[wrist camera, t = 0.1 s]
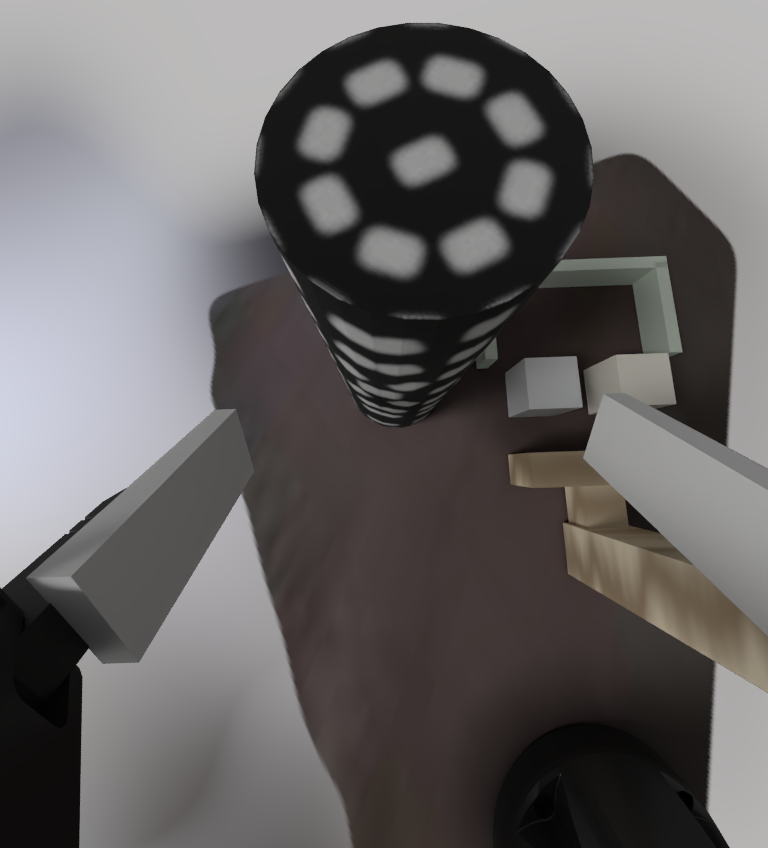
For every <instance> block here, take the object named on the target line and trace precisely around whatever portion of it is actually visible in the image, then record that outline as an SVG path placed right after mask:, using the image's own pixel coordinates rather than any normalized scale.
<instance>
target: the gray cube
mask: <svg viewBox="0 0 768 848" xmlns="http://www.w3.org/2000/svg"><path fill="white" fill-rule="evenodd" d="M505 380H506V391H507V402H508V413H509V417H534V416H555V415H559V414H562V413H566V412H569V411H572V410H576V409H579V408H583V405H582V396H581V388H580V380H579V372H578V364H577V356H568V357H541V358H524V359H523V360H521V361H520V362H519V363H517V364H516V365H515V366H514V367H512V368H511V369H510V370H508V371H507V372H506V373H505Z"/></svg>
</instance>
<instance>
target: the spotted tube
mask: <svg viewBox="0 0 768 848" xmlns="http://www.w3.org/2000/svg"><path fill="white" fill-rule="evenodd" d="M254 175H255V181H256V189H257V197H258V203H259V206H260V208H261V211H262V214H263V216H264V219H265V222H266V224H267V227H268V230H269V232H270V234H271V236H272V238H273V240H274V242H275V244H276V246H277V248H278V250H279V252H280V254H281V256H282V258H283V260H284V262H285V264H286V266H287V268H288V270H289V272H290V274H291V276H292V278H293V280H294V282H295V284H296V286H297V288H298V290H299V292H300V294H301V296H302V298H303V300H304V302H305V304H306V306H307V308H308V310H309V312H310V314H311V316H312V318H313V320H314V322H315V324H316V326H317V328H318V330H319V332H320V334H321V336H322V338H323V340H324V342H325V344H326V346H327V348H328V350H329V352H330V354H331V356H332V358H333V360H334V362H335V364H336V366H337V368H338V370H339V372H340V374H341V376H342V378H343V380H344V382H345V384H346V386H347V388H348V390H349V392H350V394H351V396H352V398H353V400H354V402H355V403H356V405H357V406H358V408H359V410H360V411H361V412H362V413H363V414H364V415H365V416H366V417H368V418H369V419H371V420H372V421H373V422H376V423H378V424H380V425H383V426H388V427H406V426H411V425H413V424H416V423H418V422H420V421H421V420H423V419H425V418H426V417H427V416H428V415H429V414H430V413H431V412H432V411H433V410H434V409H435V408H436V407H437V405H438V404H439V403H440V402H441V401H442V400H443V398H444V397H445V396H446V395H447V394H448V393H449V391H450V390H451V389H452V388H453V387H454V386H455V384H456V383H457V382H458V381H459V380H460V379H461V377H462V376H463V375H464V374H465V373H466V371H467V370H468V369H469V368H470V367H471V366H472V364H473V363H474V362H475V361H476V360H477V359H478V357H479V356H480V355H481V354H482V353H483V352H484V350H485V349H486V348H487V347H488V346H489V345H490V343H491V342H492V341H493V340H494V339H495V337H496V336H497V335H498V334H499V333H500V332H501V330H502V329H503V328H504V327H505V326H506V325H507V323H508V322H509V321H510V320H511V319H512V318H513V316H514V315H515V314H516V313H517V312H518V311H519V309H520V308H521V307H522V306H523V305H524V303H525V302H526V301H527V300H528V299H529V298H530V296H531V295H532V294H533V293H534V292H535V291H536V289H537V288H538V287H539V286H540V285H541V284H542V282H543V281H544V280H545V279H546V278H547V277H548V275H549V274H550V273H551V272H552V271H553V269H554V268H555V267H556V266H557V265H558V264H559V262H560V261H561V260H562V258H563V257H564V255H565V254H566V252H567V251H568V250H569V248H570V247H571V245H572V244H573V242H574V241H575V239H576V238H577V236H578V235H579V232H580V230H581V227H582V224H583V222H584V219H585V217H586V214H587V212H588V209H589V206H590V200H591V193H592V186H593V180H594V172H593V160H592V147H591V144H590V141H589V138H588V135H587V131H586V129H585V125H584V122H583V119H582V117H581V116H580V114H579V112H578V110H577V108H576V107H575V105H574V103H573V101H572V100H571V98H570V96H569V94H568V93H567V92H566V91H565V89H564V88H563V87H562V86H561V85H560V84H559V83H558V81H557V80H556V79H555V78H554V77H553V76H552V74H551V73H550V72H549V71H548V70H547V69H545V68H544V67H543V66H541V65H540V64H539V63H537V61H535V60H534V59H533V58H532V57H530V56H529V55H528V54H526V53H525V52H523V51H521V50H519V49H518V48H516V47H514V46H512V45H510V44H508V43H506V42H505V41H503V40H501V39H499V38H497V37H494V36H491V35H488V34H485V33H482V32H479V31H476V30H473V29H470V28H464V27H459V26H453V25H447V24H441V23H405V24H398V25H392V26H386V27H379V28H376V29H372V30H369V31H367V32H364V33H361V34H357V35H354V36H351V37H348V38H347V39H345V40H343V41H341V42H339V43H337V44H335V45H333V46H332V47H330V48H328V49H326V50H324V51H322V52H321V53H320V54H318V55H317V56H316V57H315V58H313V59H312V60H311V61H309V62H308V63H307V64H306V65H304V66H303V67H302V68H301V69H299V70H298V71H297V73H296V74H295V75H294V76H293V77H292V78H291V79H290V81H289V82H288V83H287V84H286V85H285V86H284V88H283V89H282V90H281V91H280V92H279V94H278V96H277V98H276V100H275V101H274V103H273V105H272V106H271V108H270V110H269V112H268V114H267V115H266V117H265V120H264V123H263V126H262V130H261V133H260V136H259V139H258V142H257V148H256V160H255V172H254Z"/></svg>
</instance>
